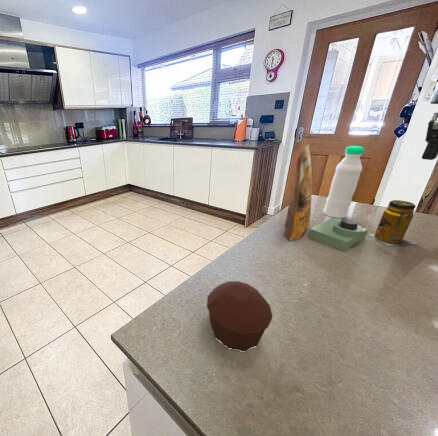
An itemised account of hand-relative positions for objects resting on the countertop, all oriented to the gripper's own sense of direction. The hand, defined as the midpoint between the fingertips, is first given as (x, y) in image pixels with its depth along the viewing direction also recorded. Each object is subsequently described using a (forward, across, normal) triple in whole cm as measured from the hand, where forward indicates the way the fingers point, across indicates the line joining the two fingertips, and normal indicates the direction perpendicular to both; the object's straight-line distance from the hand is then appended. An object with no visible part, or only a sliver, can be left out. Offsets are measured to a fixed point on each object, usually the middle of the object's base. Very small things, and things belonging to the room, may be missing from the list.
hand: (428, 159), depth 58 cm
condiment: (+25, +4, +1) cm, 25 cm away
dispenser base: (+25, -8, +10) cm, 28 cm away
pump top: (+20, -8, +8) cm, 24 cm away
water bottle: (+25, +10, +19) cm, 33 cm away
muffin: (+25, -61, +4) cm, 66 cm away
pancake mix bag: (+25, -14, +21) cm, 35 cm away
